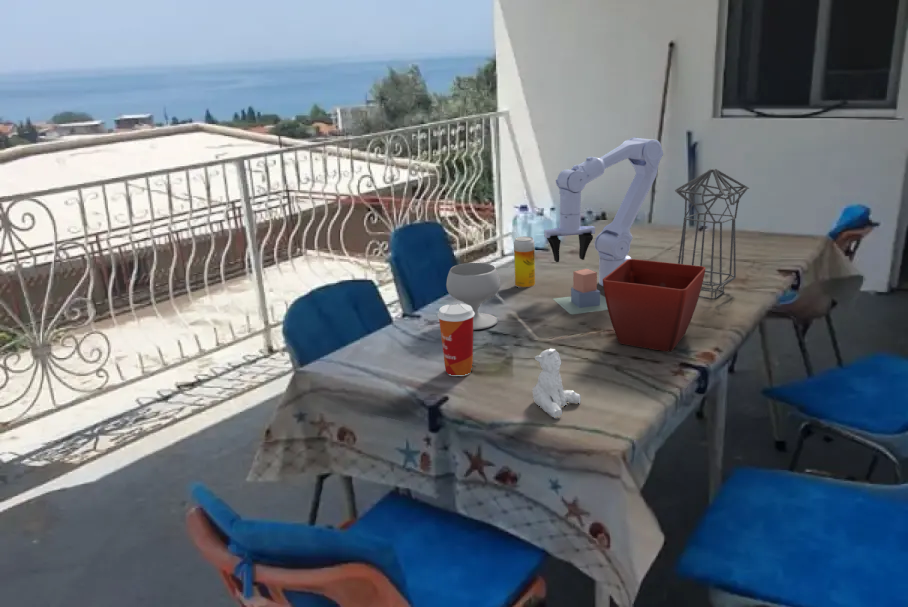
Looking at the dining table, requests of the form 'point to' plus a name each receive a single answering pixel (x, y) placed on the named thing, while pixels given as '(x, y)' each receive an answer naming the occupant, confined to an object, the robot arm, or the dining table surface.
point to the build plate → (573, 309)
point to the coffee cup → (457, 337)
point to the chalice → (474, 289)
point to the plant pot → (652, 302)
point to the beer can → (524, 262)
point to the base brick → (585, 298)
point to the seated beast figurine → (552, 385)
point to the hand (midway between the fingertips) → (569, 260)
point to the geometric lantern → (696, 181)
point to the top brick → (585, 280)
